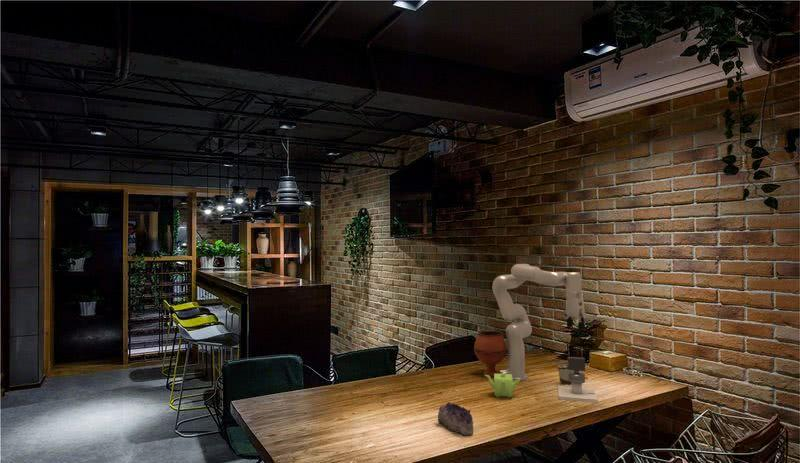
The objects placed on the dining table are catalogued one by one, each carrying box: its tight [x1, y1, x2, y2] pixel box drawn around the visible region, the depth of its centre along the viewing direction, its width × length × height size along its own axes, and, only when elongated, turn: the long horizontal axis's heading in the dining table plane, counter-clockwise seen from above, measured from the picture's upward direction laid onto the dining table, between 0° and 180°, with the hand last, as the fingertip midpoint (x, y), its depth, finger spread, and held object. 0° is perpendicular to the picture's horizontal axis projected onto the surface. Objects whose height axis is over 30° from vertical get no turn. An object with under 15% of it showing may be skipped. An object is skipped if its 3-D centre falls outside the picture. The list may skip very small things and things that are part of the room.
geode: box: [437, 401, 474, 437], centre depth 195 cm, size 20×12×10 cm, turn 28°
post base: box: [557, 383, 599, 404], centre depth 235 cm, size 18×18×7 cm
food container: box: [556, 363, 574, 386], centre depth 256 cm, size 12×6×10 cm, turn 84°
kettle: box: [484, 373, 521, 399], centre depth 236 cm, size 15×14×11 cm
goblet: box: [473, 330, 508, 377], centre depth 275 cm, size 19×19×25 cm
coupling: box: [567, 356, 589, 384], centre depth 236 cm, size 9×8×12 cm
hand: (575, 328), depth 243 cm, fingers open, 9 cm apart
